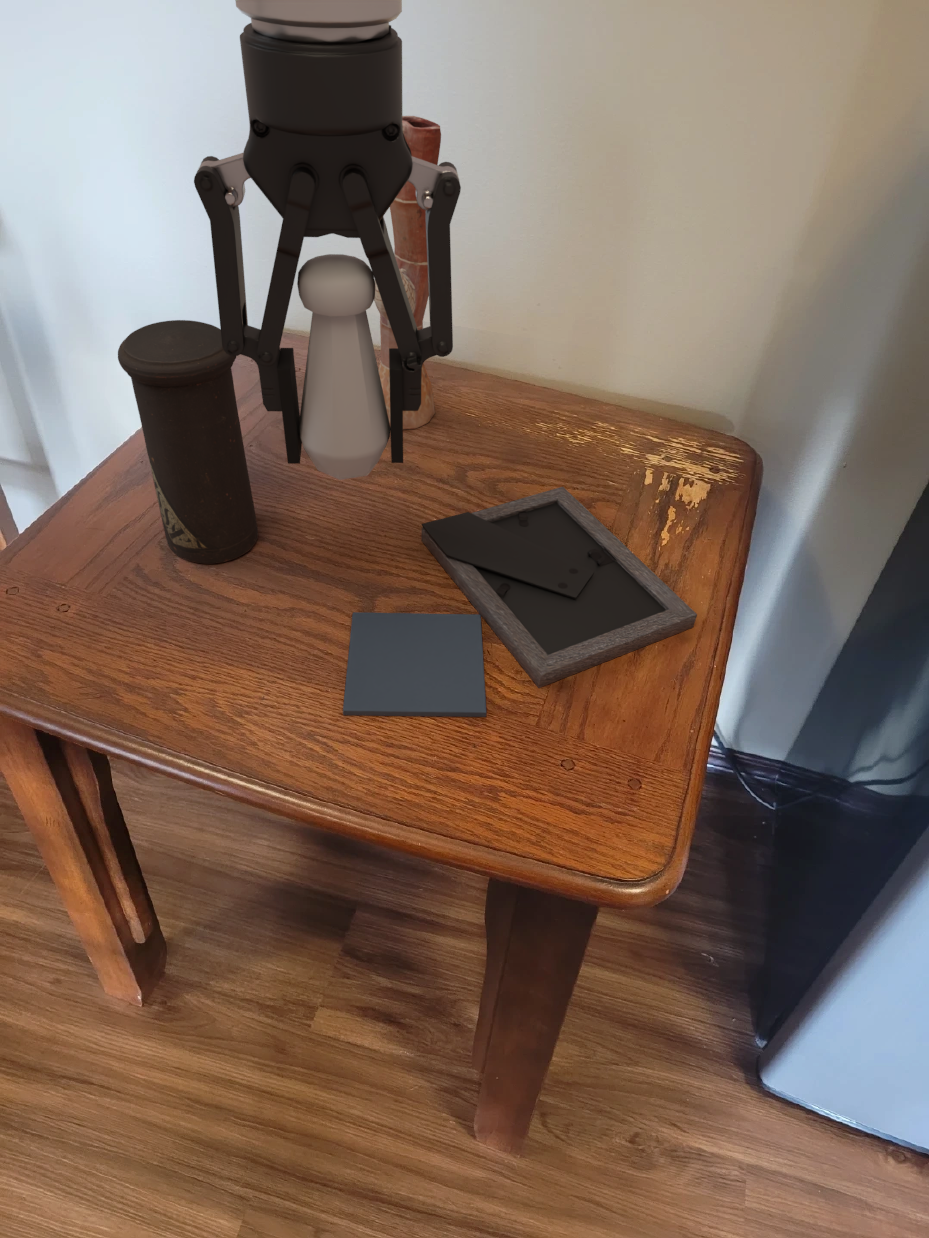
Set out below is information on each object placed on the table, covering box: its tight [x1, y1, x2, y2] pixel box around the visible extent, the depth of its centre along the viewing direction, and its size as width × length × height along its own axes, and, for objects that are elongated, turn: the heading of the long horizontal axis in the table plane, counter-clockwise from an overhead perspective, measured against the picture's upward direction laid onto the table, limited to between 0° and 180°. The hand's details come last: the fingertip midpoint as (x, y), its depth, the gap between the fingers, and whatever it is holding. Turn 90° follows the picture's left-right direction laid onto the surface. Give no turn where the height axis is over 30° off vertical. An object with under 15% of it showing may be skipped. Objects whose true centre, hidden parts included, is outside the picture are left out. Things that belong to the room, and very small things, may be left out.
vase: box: [373, 115, 442, 430], centre depth 88 cm, size 10×7×30 cm
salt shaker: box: [296, 253, 391, 481], centre depth 51 cm, size 6×6×13 cm
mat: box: [342, 611, 487, 718], centre depth 69 cm, size 11×11×1 cm
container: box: [117, 319, 259, 565], centre depth 73 cm, size 9×9×20 cm
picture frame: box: [420, 486, 698, 689], centre depth 77 cm, size 16×2×21 cm
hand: (346, 451), depth 55 cm, fingers closed on salt shaker, 6 cm apart
